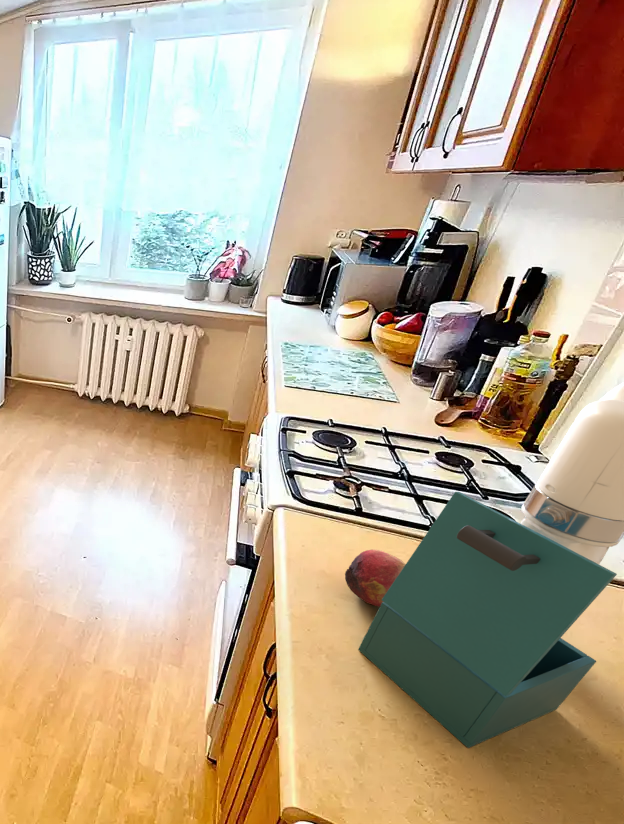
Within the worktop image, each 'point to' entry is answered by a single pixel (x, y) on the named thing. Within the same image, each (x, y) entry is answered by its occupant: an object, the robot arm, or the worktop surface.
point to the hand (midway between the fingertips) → (495, 630)
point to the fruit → (373, 575)
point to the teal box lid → (493, 590)
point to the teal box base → (468, 680)
